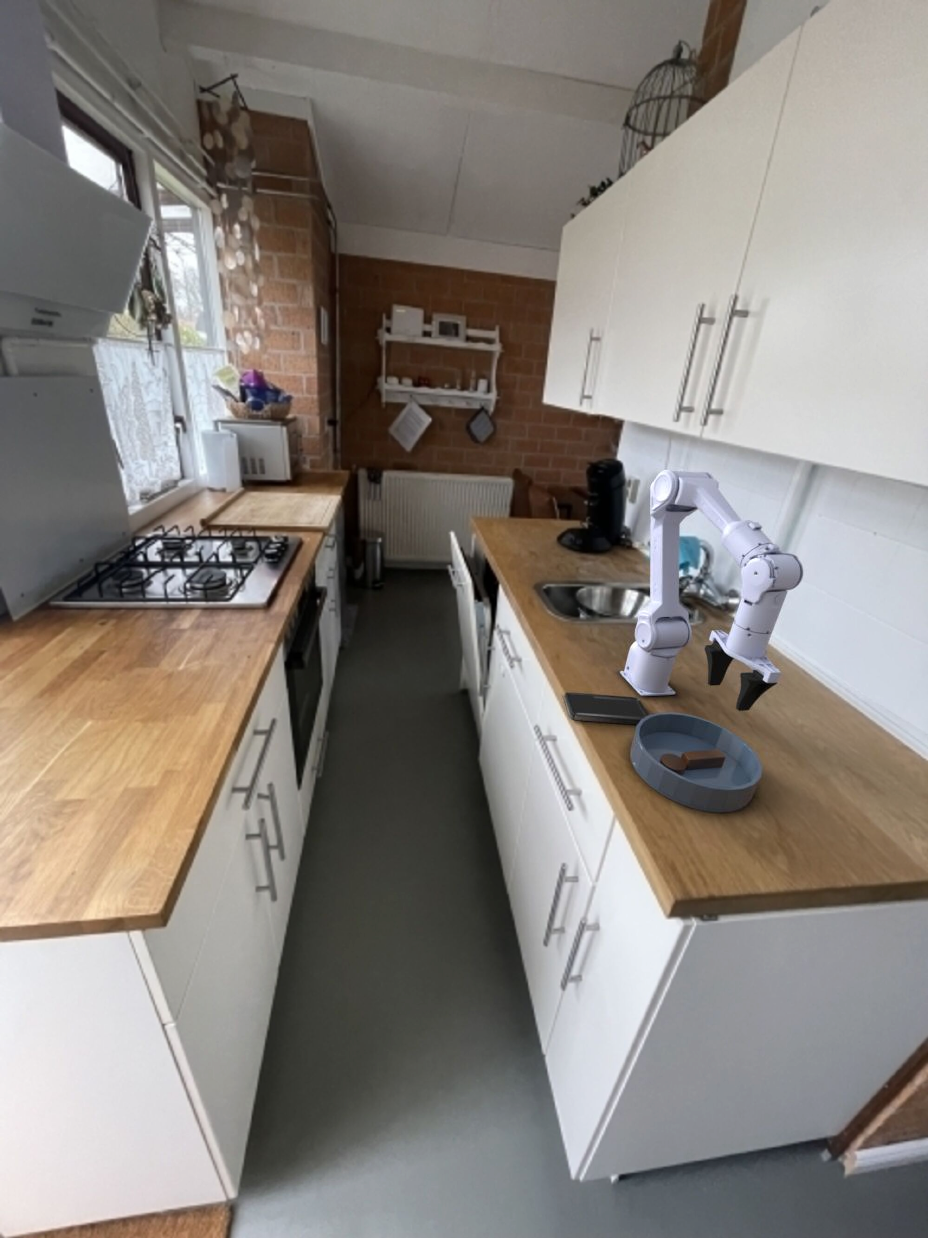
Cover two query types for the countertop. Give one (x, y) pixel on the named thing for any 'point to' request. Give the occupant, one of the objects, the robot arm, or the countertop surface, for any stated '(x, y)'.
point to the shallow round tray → (698, 786)
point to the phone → (604, 708)
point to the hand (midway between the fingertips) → (727, 696)
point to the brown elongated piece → (693, 760)
